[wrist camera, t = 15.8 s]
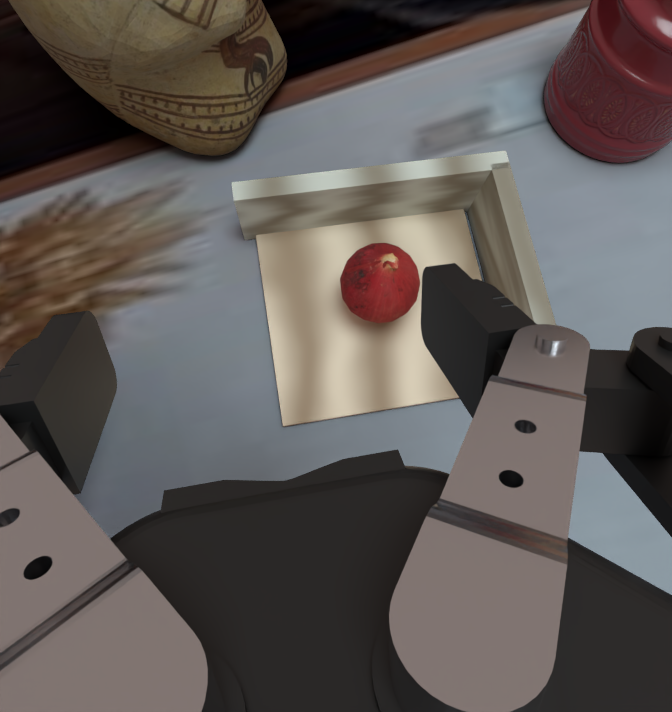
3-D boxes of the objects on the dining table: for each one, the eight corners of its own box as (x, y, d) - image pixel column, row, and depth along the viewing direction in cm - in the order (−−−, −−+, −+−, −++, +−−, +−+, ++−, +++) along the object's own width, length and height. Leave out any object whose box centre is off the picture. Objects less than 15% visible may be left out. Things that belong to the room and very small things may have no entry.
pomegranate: (342, 338, 39) (350, 304, 31) (333, 272, 40) (339, 222, 32) (414, 331, 39) (440, 294, 31) (402, 265, 40) (424, 214, 33)
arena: (271, 435, 37) (264, 427, 31) (242, 224, 41) (231, 182, 35) (532, 392, 39) (571, 377, 33) (479, 194, 43) (505, 150, 37)
